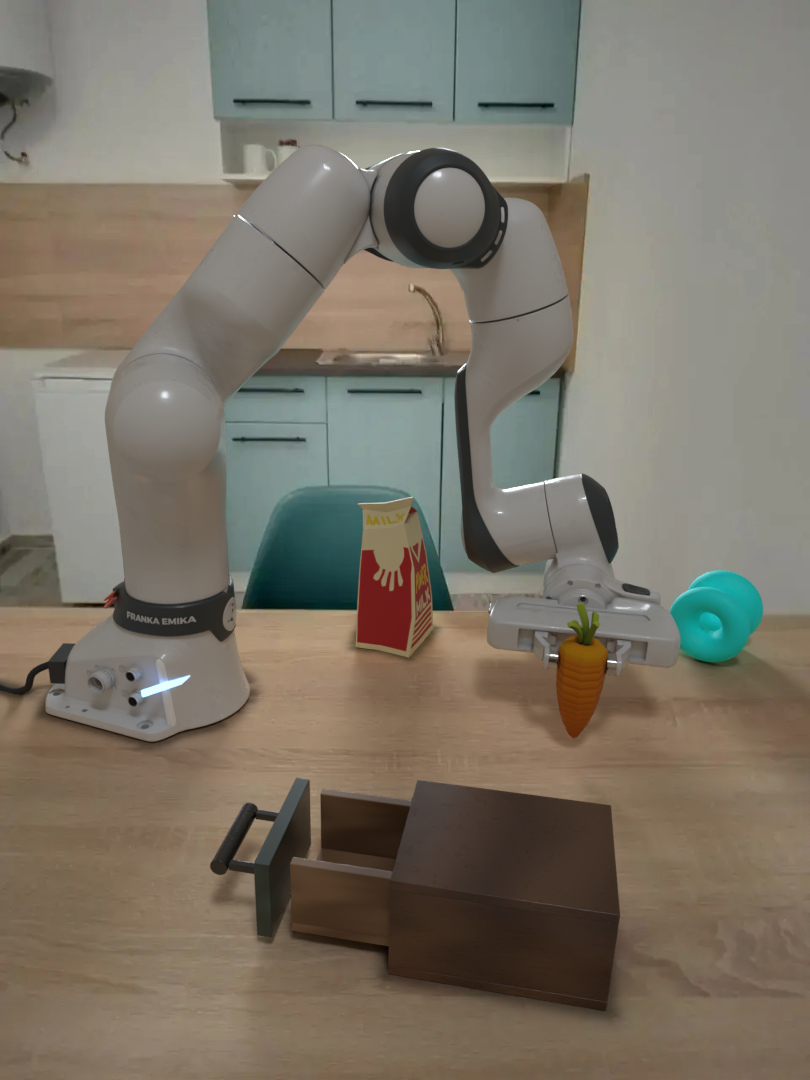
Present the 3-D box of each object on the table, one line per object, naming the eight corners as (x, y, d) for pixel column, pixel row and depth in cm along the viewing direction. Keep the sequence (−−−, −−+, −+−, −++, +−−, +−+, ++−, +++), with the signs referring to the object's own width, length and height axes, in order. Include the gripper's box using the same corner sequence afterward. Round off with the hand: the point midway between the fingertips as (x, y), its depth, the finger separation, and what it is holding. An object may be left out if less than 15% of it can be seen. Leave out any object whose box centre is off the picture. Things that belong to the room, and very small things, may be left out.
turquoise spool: (660, 652, 109) (670, 582, 105) (684, 625, 116) (694, 559, 113) (739, 675, 103) (752, 603, 100) (758, 646, 111) (771, 577, 108)
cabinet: (388, 974, 61) (390, 880, 58) (414, 863, 71) (417, 779, 68) (606, 1011, 58) (620, 915, 55) (599, 890, 69) (611, 804, 66)
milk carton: (433, 628, 114) (438, 488, 107) (411, 658, 105) (416, 509, 98) (371, 617, 116) (372, 480, 109) (345, 646, 108) (345, 500, 101)
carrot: (597, 754, 85) (614, 622, 79) (548, 747, 85) (562, 616, 80) (596, 727, 89) (613, 600, 84) (550, 721, 90) (563, 595, 85)
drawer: (204, 927, 63) (198, 855, 61) (251, 835, 73) (248, 770, 70) (447, 967, 60) (452, 893, 58) (463, 867, 70) (467, 800, 67)
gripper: (492, 574, 97) (481, 626, 84) (673, 592, 93) (691, 649, 81) (488, 623, 99) (477, 681, 86) (665, 642, 96) (681, 705, 83)
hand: (582, 666), depth 83 cm, fingers closed on carrot, 5 cm apart
